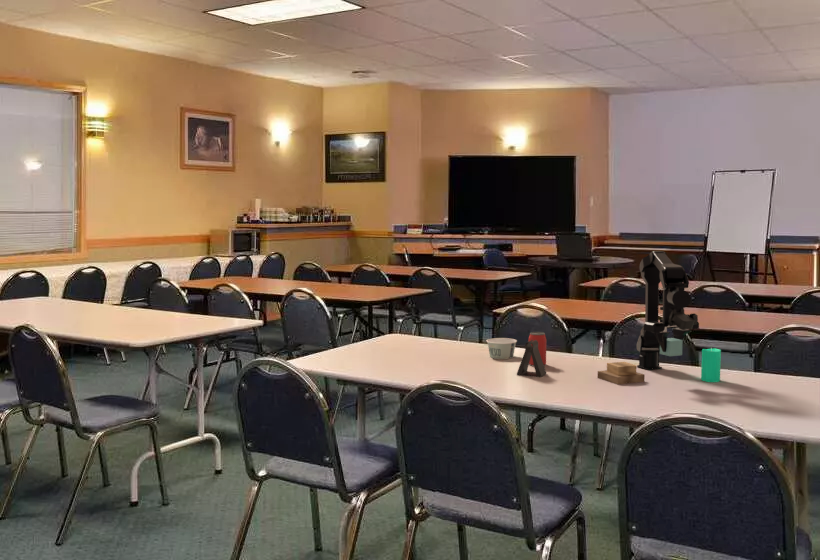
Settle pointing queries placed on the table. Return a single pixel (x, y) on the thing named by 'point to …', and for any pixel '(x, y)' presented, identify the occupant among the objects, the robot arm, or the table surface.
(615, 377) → the tower base block
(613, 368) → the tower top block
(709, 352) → the candle
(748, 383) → the table surface
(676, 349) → the teal cube
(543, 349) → the beer can
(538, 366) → the dark grey a-shaped piece
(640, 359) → the robot arm
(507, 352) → the food container
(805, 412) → the table surface
